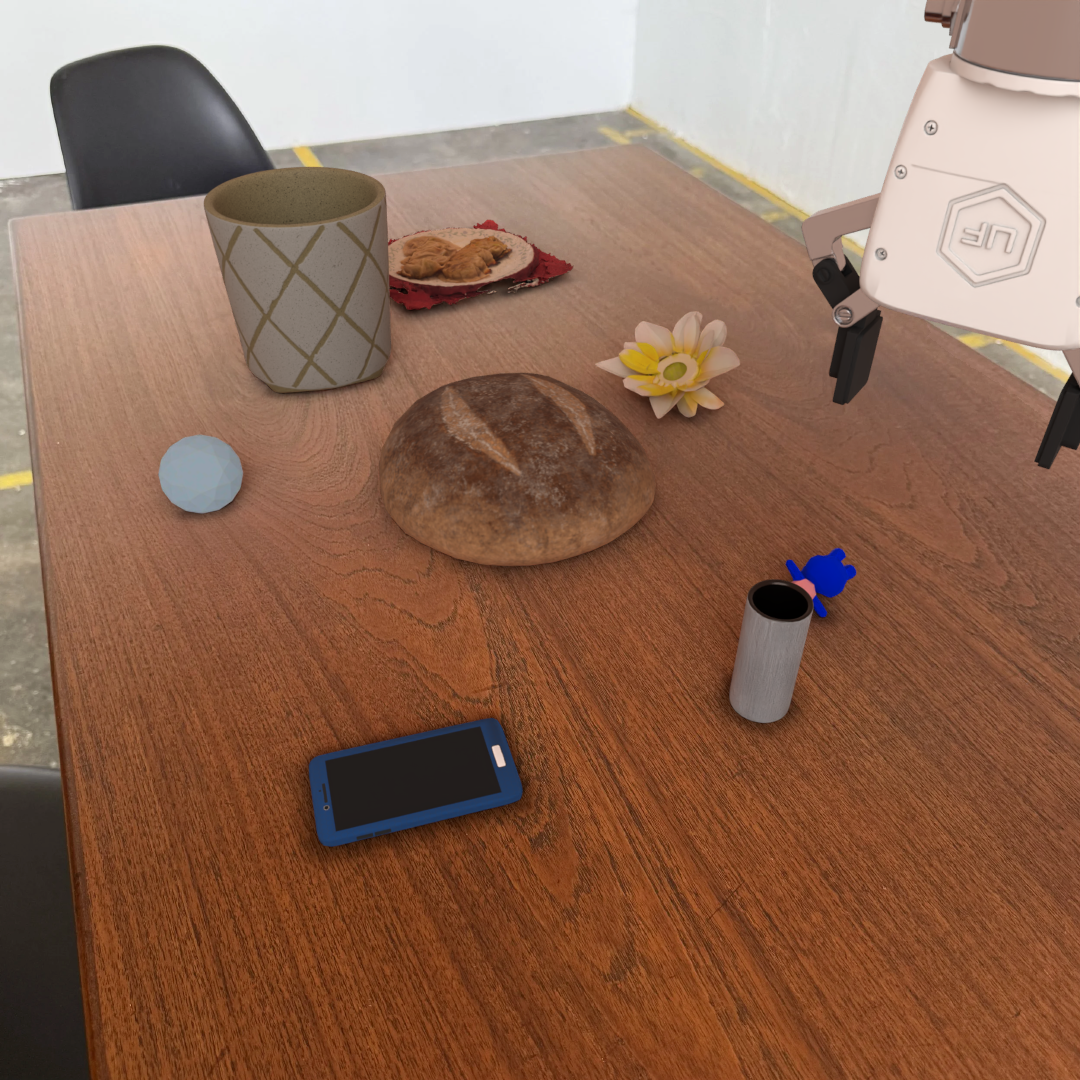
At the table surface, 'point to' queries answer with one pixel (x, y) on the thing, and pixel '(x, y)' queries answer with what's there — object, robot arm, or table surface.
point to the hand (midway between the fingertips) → (944, 422)
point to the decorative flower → (675, 364)
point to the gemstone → (200, 473)
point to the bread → (513, 471)
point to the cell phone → (412, 781)
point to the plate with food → (464, 264)
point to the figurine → (822, 576)
